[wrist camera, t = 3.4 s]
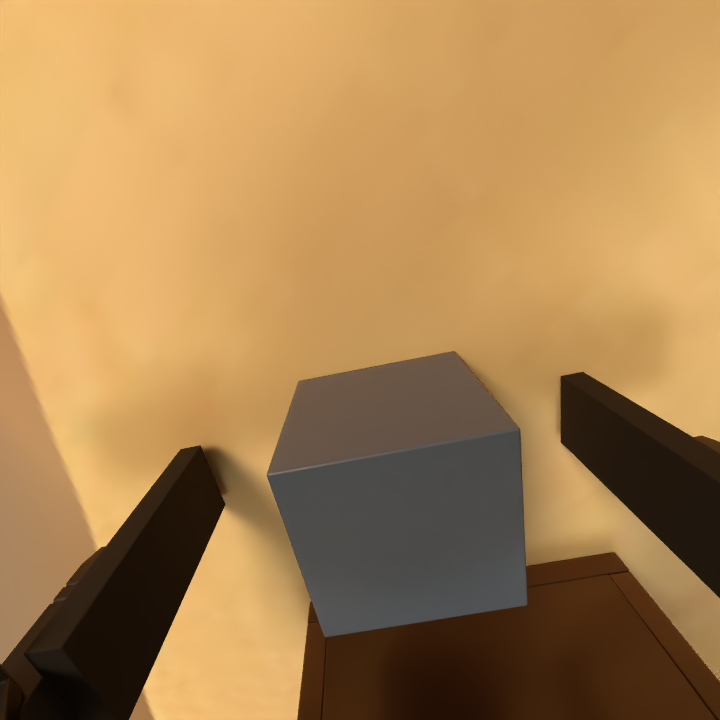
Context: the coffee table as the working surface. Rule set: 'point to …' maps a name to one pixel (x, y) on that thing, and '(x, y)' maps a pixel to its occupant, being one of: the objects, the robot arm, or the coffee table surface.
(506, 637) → the chest
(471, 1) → the coffee table surface
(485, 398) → the block
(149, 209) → the coffee table surface
